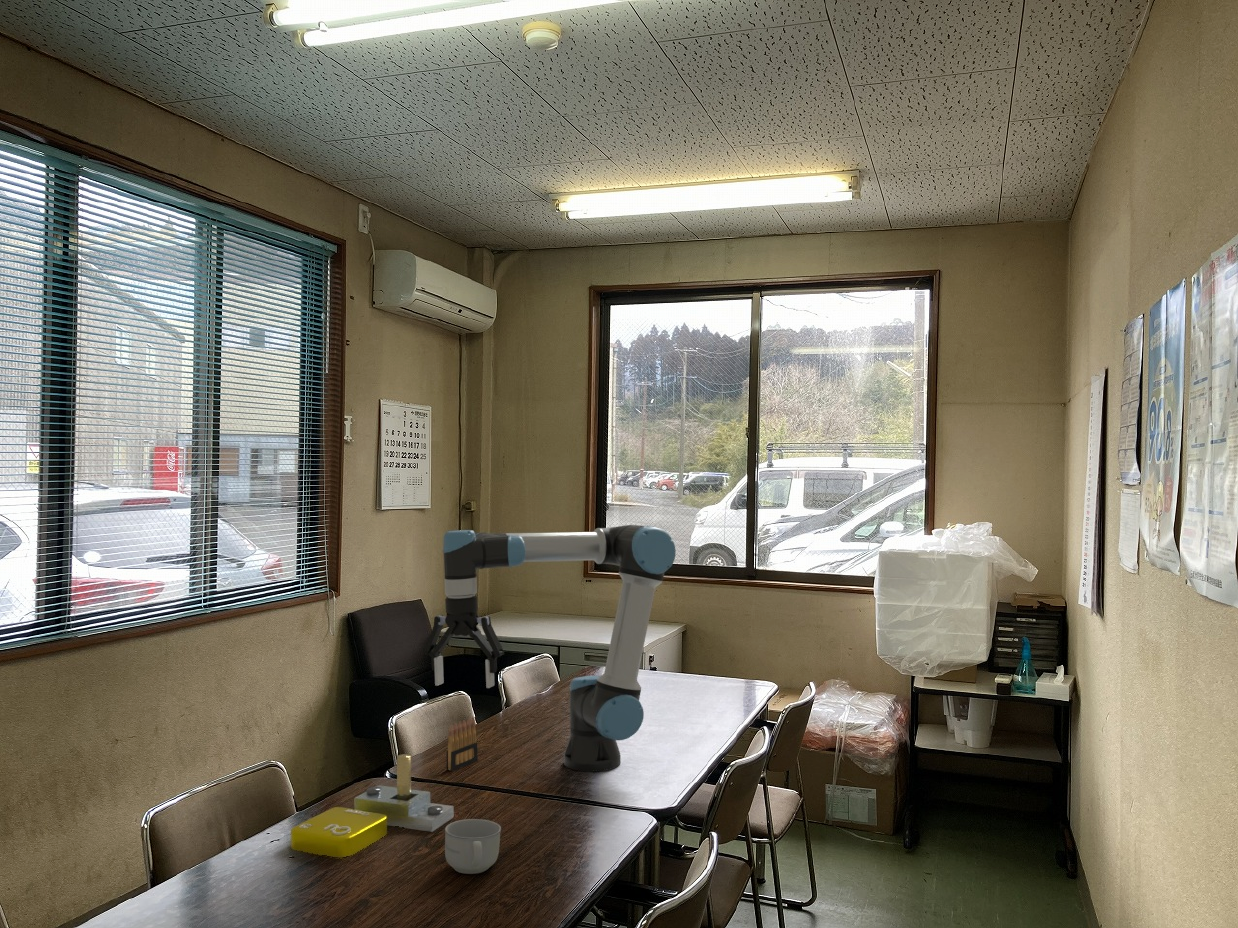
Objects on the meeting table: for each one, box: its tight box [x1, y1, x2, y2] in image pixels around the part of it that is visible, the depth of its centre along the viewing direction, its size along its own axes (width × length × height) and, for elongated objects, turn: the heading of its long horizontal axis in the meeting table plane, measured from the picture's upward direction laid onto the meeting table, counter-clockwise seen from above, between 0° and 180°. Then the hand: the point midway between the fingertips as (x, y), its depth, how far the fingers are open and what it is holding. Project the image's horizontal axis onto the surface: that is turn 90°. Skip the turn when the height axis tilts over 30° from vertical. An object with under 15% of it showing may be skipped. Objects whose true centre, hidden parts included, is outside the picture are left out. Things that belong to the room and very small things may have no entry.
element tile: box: [290, 806, 388, 857], centre depth 192 cm, size 15×15×5 cm
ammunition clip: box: [445, 716, 479, 772], centre depth 243 cm, size 11×2×12 cm, turn 149°
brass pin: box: [396, 753, 412, 801], centre depth 205 cm, size 3×3×14 cm
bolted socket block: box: [353, 784, 455, 833], centre depth 204 cm, size 20×9×6 cm, turn 70°
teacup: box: [444, 818, 502, 875], centre depth 177 cm, size 14×11×8 cm
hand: (464, 685), depth 216 cm, fingers open, 13 cm apart
